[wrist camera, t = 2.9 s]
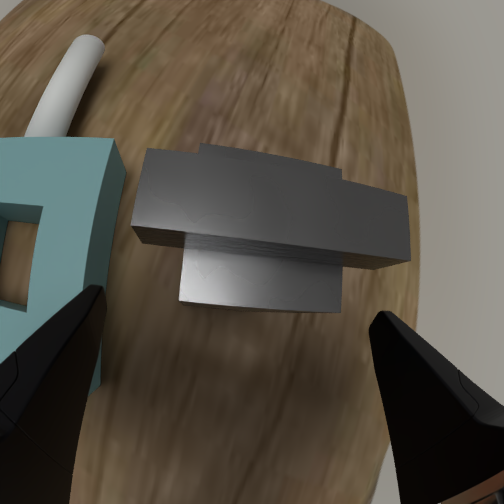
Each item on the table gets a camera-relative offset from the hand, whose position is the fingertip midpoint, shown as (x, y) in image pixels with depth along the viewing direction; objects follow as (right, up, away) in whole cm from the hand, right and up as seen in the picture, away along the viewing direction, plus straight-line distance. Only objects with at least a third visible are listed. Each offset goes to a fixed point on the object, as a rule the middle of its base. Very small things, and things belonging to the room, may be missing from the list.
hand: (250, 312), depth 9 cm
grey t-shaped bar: (-2, 0, +10) cm, 10 cm away
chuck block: (-14, +6, +8) cm, 18 cm away
